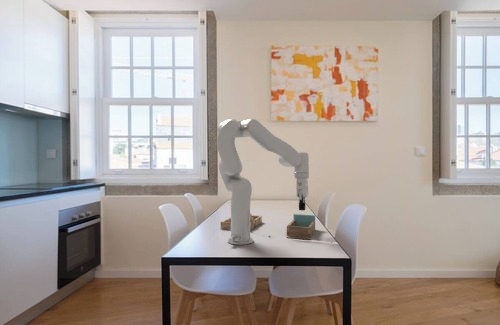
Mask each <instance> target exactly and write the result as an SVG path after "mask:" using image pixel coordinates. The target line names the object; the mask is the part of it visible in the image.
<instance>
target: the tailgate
mask: <svg viewBox="0 0 500 325" xmlns="http://www.w3.org/2000/svg"><path fill="white" fill-rule="evenodd" d="M293 220H296V226H298V227H309V226H310V224H311V223H312V221H315V222H316V215H313V214H303V213H302V214H301V213H293Z"/></svg>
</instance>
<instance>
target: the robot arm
mask: <svg viewBox="0 0 500 325" xmlns="http://www.w3.org/2000/svg"><path fill="white" fill-rule="evenodd" d="M248 137H250V138H251V139H252V140H253V141H254V142H255V143H257V145H258V146H260V147H261V148H263V149H264V150H266V151H267V152H268V151H269V152H271V153H274V154H276V155H278V162H279V165H281V166H282V167H286V168H287V167H288V168H289V167H291V168H293V167H294V172H293V173H294V179H295V180H296V186H295V187H296V190H295V191H296V192H295V193H296V197H297V198H298V210H299V211H305V210H306V198H307V197H309V183H308V179H310V172H309V171H310V168H309V167H310V166H309V165H310V164H309V153H308V152H304V151H303V152H298V151H297V150H296V148H294V147H293V146H292V145H290V144H289V143H287V142H286V141H284V140H282V139H281V138H280V137H278V136H275V135H274V134H273V133H272V132H271V131H270V130H269V129H268V128H267V127H266V126H264V125H263V124H262V123H261V122H260V121H259V120H257V119H255V118H249V119H246V120H240V121H238V120H236V119H232V118H229V119H226V120H224V121H222V122H220V123H219V125H218V127H217V138H216V148H217V151H218V154H219V157H220V161H219V164H218V170H219V173H220V175H221V179H222V181H223V184H224V186H225V188H226V191H227V192H228V193H229V194H231V200H230V217H231V230H230V237H228V238H227V242H228V243H229V244H231V245H237V246H239V245H240V246H242V245H244V246H245V245H250V244H252V243H254V238H253V237H251V230H250V213H251V199H252V198H251V197H252V190H253V187H252V184H251V182H250V180H249V179H248V178H245V177H244V176H243V177H242V176H241V173H242V170H243V164H242V161H241V159H240V156H239V153H238V150H237V147H236V142H235V141H236V139H237V138H248Z"/></svg>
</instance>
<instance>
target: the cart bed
mask: <svg viewBox="0 0 500 325" xmlns="http://www.w3.org/2000/svg"><path fill="white" fill-rule="evenodd" d="M315 230H316V220H315V221H312V223H311V224H310V226H309V227H298V226H296V220H294V219H292V220H291V222H289V223H288V224H287V226H286V239H291V240H303V241H311V238H312V236H313V234H314V233H315Z"/></svg>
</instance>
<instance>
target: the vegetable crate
mask: <svg viewBox="0 0 500 325" xmlns="http://www.w3.org/2000/svg"><path fill="white" fill-rule="evenodd" d="M251 215H252V214H251ZM252 217H253V221H251V222H250V231H251V230H252V229H254V228H255V227H257V226H259V225H261V223H262V221H263V216H262V215H254V214H253V215H252ZM220 229H221V230H227V229H228V231H231V216H230V217H228V218H226V219H224V220H222V221H220Z"/></svg>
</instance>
